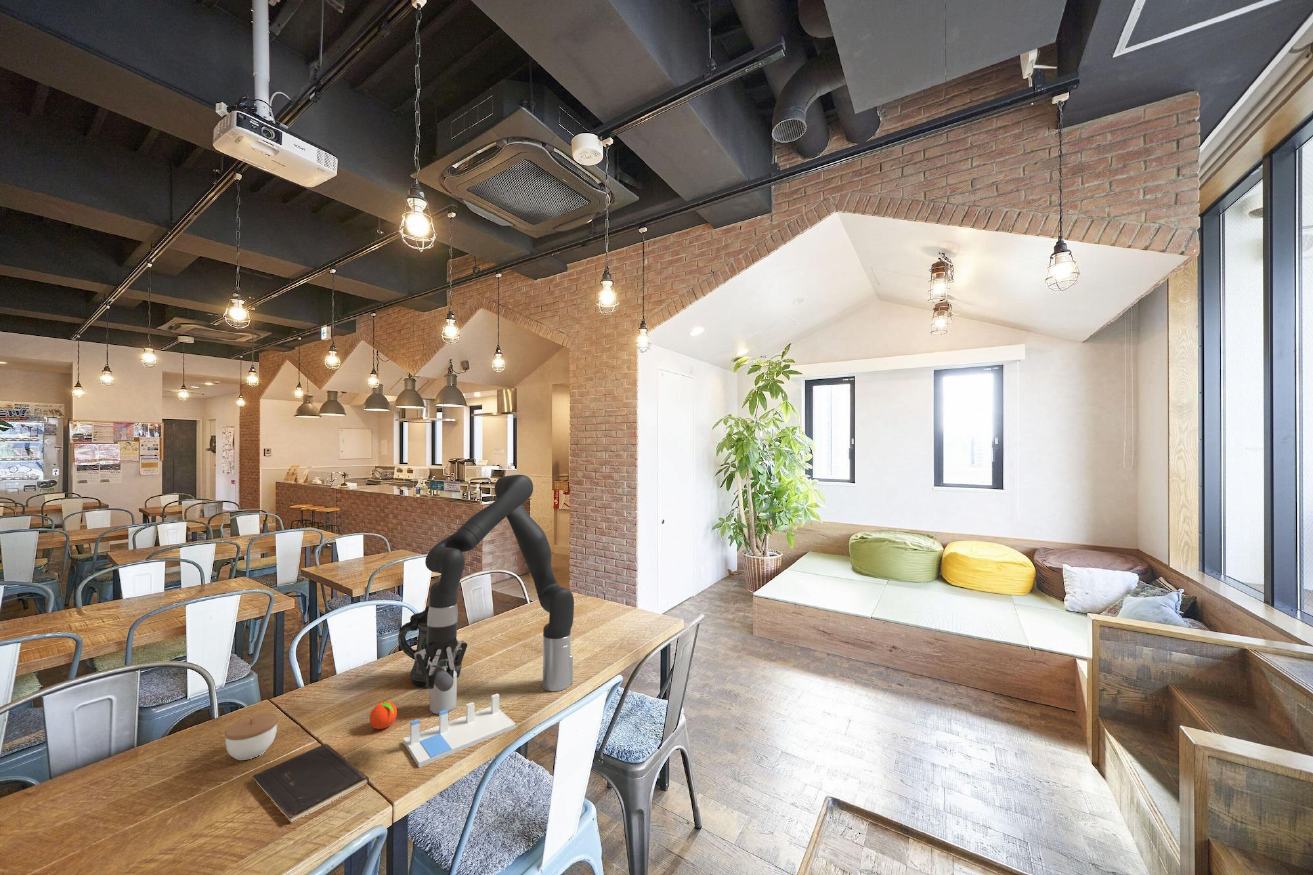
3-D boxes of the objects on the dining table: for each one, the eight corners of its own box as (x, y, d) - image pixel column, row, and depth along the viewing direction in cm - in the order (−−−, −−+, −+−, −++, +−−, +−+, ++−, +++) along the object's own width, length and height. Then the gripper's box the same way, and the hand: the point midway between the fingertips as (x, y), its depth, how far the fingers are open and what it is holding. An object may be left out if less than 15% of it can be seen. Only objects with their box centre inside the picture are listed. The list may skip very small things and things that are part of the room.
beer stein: (471, 674, 172) (472, 603, 173) (419, 697, 156) (421, 619, 156) (443, 663, 181) (444, 596, 182) (391, 684, 164) (393, 610, 165)
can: (446, 717, 144) (447, 676, 144) (424, 714, 146) (425, 674, 146) (461, 704, 151) (461, 665, 152) (440, 701, 153) (440, 663, 153)
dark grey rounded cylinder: (425, 679, 134) (425, 665, 134) (440, 675, 136) (440, 661, 136) (439, 696, 125) (440, 680, 125) (455, 690, 127) (455, 675, 128)
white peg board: (495, 708, 149) (495, 686, 149) (515, 727, 138) (515, 704, 139) (403, 742, 131) (403, 717, 132) (418, 767, 121) (419, 740, 121)
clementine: (404, 724, 140) (405, 700, 140) (382, 737, 134) (382, 711, 134) (386, 718, 143) (386, 694, 144) (363, 730, 137) (364, 705, 137)
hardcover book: (289, 827, 102) (289, 816, 102) (252, 784, 115) (252, 775, 116) (369, 785, 115) (369, 775, 116) (327, 750, 129) (328, 742, 129)
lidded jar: (287, 746, 130) (287, 710, 130) (241, 771, 120) (242, 732, 120) (260, 738, 133) (261, 704, 134) (214, 761, 123) (215, 724, 123)
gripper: (463, 612, 139) (461, 673, 138) (410, 622, 129) (407, 688, 128) (473, 619, 133) (471, 682, 132) (418, 630, 124) (415, 698, 123)
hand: (439, 684), depth 130 cm, fingers closed on dark grey rounded cylinder, 4 cm apart
